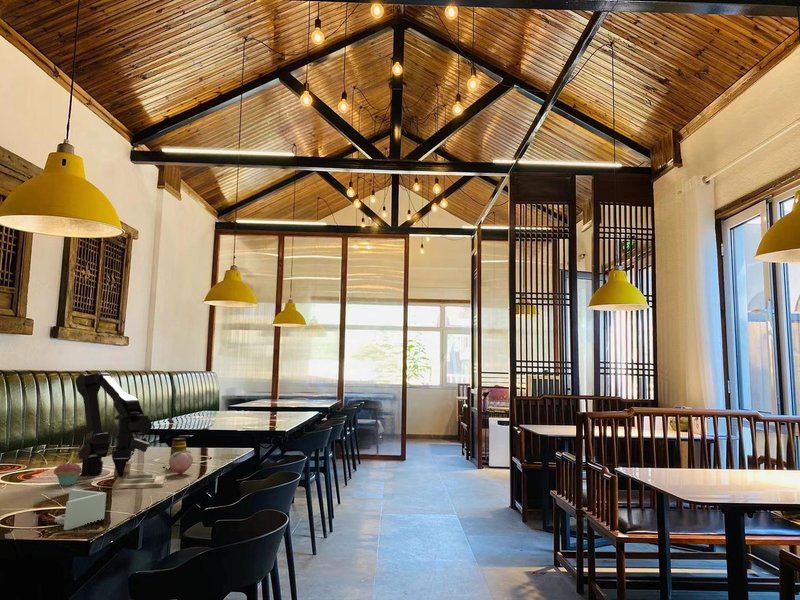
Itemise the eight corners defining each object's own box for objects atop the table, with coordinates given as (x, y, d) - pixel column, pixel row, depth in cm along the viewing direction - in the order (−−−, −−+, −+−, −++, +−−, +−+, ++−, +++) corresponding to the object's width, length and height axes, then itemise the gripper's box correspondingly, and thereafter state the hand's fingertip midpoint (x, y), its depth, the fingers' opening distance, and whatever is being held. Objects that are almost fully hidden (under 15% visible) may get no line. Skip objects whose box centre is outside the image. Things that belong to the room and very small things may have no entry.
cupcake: (85, 483, 200) (89, 448, 201) (63, 487, 192) (66, 451, 194) (70, 480, 203) (73, 447, 205) (47, 484, 196) (50, 449, 197)
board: (112, 489, 191) (112, 481, 192) (117, 480, 206) (118, 473, 206) (162, 486, 197) (163, 479, 197) (164, 478, 212) (165, 472, 212)
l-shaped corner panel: (69, 516, 157) (72, 489, 158) (103, 521, 154) (106, 492, 155) (30, 527, 146) (33, 497, 147) (66, 532, 143) (69, 502, 144)
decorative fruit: (177, 471, 226) (178, 446, 227) (195, 473, 224) (197, 447, 226) (162, 475, 217) (164, 449, 218) (181, 477, 215) (183, 450, 217)
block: (113, 480, 206) (115, 463, 207) (115, 478, 211) (116, 461, 211) (128, 480, 208) (129, 463, 208) (129, 477, 212) (131, 461, 213)
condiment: (188, 467, 236) (190, 438, 238) (168, 469, 230) (170, 440, 232) (181, 465, 241) (183, 437, 243) (161, 467, 236) (163, 438, 237)
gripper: (147, 434, 206) (143, 478, 203) (150, 429, 223) (147, 469, 221) (113, 435, 202) (109, 479, 200) (119, 429, 219) (116, 470, 217)
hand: (122, 474), depth 209 cm, fingers open, 9 cm apart
